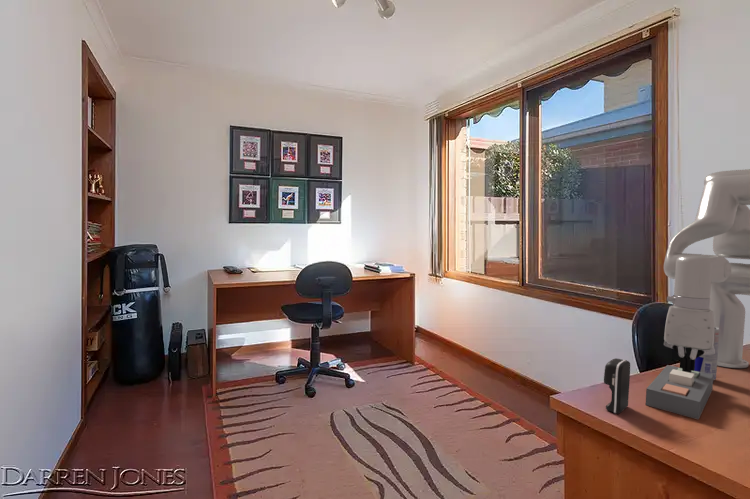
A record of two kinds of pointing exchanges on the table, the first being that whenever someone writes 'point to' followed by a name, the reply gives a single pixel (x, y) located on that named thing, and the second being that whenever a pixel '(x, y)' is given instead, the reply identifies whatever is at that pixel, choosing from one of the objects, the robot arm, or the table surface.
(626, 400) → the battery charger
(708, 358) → the beverage can
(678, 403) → the frame
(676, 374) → the cream button
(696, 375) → the sage button
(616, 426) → the table surface
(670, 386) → the terracotta button
